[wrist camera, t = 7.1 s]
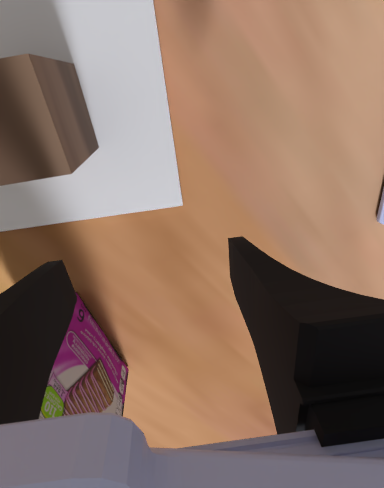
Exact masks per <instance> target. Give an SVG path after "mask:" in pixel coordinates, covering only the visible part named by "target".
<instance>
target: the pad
mask: <svg viewBox="0 0 384 488" xmlns="http://www.w3.org/2000/svg"><path fill="white" fill-rule="evenodd" d="M22 54H32V55H37V56H42V57H46V58H51V59H55V60H60V61H64V62H69V63H73V64H74V65H75V69H76V72H77V75H78V79H79V82H80V85H81V89H82V92H83V95H84V99H85V102H86V105H87V109H88V112H89V115H90V119H91V122H92V125H93V129H94V132H95V135H96V139H97V142H98V145H99V148H98V149H97V150H96V151H95V152H94V153H93V154H92V155H91V156H90V157H89V158H88V159H87V160H86V161H85V162H84V163H83V164H82V165H81V166H79V167H78V168H77V169H76V170H75V171H74V172H73V173H72V174H68V175H62V176H57V177H51V178H45V179H39V180H33V181H27V182H21V183H15V184H9V185H3V186H0V232H2V231H9V230H15V229H22V228H29V227H36V226H43V225H50V224H57V223H64V222H71V221H78V220H85V219H92V218H99V217H106V216H113V215H120V214H127V213H134V212H141V211H148V210H155V209H162V208H169V207H175V206H182V205H183V203H182V196H181V189H180V182H179V175H178V169H177V162H176V155H175V148H174V141H173V134H172V127H171V121H170V114H169V107H168V100H167V93H166V86H165V79H164V73H163V66H162V59H161V52H160V45H159V38H158V31H157V25H156V18H155V11H154V4H153V0H0V58H5V57H11V56H16V55H22Z"/></svg>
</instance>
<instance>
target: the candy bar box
mask: <svg viewBox="0 0 384 488" xmlns="http://www.w3.org/2000/svg"><path fill="white" fill-rule="evenodd" d="M75 293H76V292H75ZM76 296H77V299H76V304H75V309H74V313H73V317H72V320H71V322H70V325H69V328H68V330H67V333H66V335H65V338H64V340H63V343H62V345H61V348H60V350H59V353H58V355H57V358H56V360H55V363H54V365H53V368H52V371H51V374H50V377H49V381H48V385H47V388H46V392H45V395H44V399H43V403H42V407H41V411H40V416H39V419H45V418H52V417H59V416H67V415H74V414H81V413H88V412H96V413H114V414H117V415H120V416H123V409H124V401H125V393H126V385H127V377H128V368H127V366H126V365H125V363H124V362H123V361H122V359H121V358H120V356H119V355H118V353H117V352H116V350H115V349H114V348H113V346H112V345H111V343H110V342H109V340H108V339H107V337H106V336H105V334H104V333H103V331H102V330H101V328H100V327H99V325H98V324H97V322H96V321H95V319H94V318H93V317H92V315H91V314H90V312H89V311H88V309H87V308H86V306H85V304H84V303H83V302H82V300H81V299H80V297H79V296H78V294H77V293H76Z"/></svg>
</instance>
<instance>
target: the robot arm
mask: <svg viewBox="0 0 384 488" xmlns="http://www.w3.org/2000/svg"><path fill="white" fill-rule="evenodd" d="M377 221H378V222H379V223H381V224H384V188H383V193H382V197H381V202H380V206H379V211H378V215H377ZM228 243H229V263H230V278H231V282H232V286H233V290H234V294H235V297H236V300H237V302H238V305H239V307H240V310H241V312H242V315H243V317H244V320H245V322H246V325H247V327H248V330H249V332H250V335H251V338H252V340H253V343H254V346H255V350H256V353H257V357H258V361H259V364H260V368H261V372H262V375H263V379H264V383H265V387H266V390H267V394H268V398H269V402H270V406H271V410H272V414H273V418H274V422H275V426H276V430H277V435H271V436H263V437H256V438H249V439H242V440H235V441H227V442H220V443H213V444H206V445H199V446H191V447H184V448H177V449H174V448H149V446H148V444H147V441H146V438H145V436H144V433H143V432H142V431H141V430H140V429H139V428H138V427H137V426H136V425H135V424H134V422H133V421H132V420H131V419H128V418H125V417H123V416H120V415H117V414H114V413H96V412H88V413H81V414H74V415H67V416H59V417H52V418H45V419H39V416H40V411H41V407H42V403H43V399H44V395H45V392H46V388H47V385H48V381H49V377H50V374H51V371H52V368H53V365H54V363H55V360H56V358H57V355H58V353H59V350H60V348H61V345H62V343H63V340H64V338H65V335H66V333H67V330H68V328H69V325H70V322H71V320H72V317H73V313H74V309H75V304H76V299H77V296H76V293H75V291H74V288H73V286H72V283H71V281H70V278H69V276H68V273H67V271H66V268H65V266H64V263H63V261H62V260H59V261H51V262H47V263H45V264H43V265H42V266H40V267H39V268H37V269H36V270H34V271H33V272H31V273H30V274H28V275H27V276H26V277H24V278H23V279H21V280H20V281H19V282H17V283H16V284H14V285H13V286H11V287H10V288H9V289H7V290H6V291H4V292H3V293H1V294H0V488H384V300H383V299H378V298H373V297H369V296H364V295H360V294H356V293H352V292H349V291H345V290H342V289H339V288H335V287H332V286H329V285H327V284H324V283H321V282H319V281H316V280H313V279H311V278H309V277H306V276H304V275H302V274H300V273H298V272H296V271H294V270H292V269H290V268H288V267H286V266H285V265H283V264H281V263H279V262H278V261H276V260H274V259H273V258H271V257H270V256H268V255H267V254H265V253H264V252H263V251H261V250H260V249H258V248H257V247H256V246H254V245H253V244H252V243H250V242H249V241H248V240H246V239H245V238H244V237H234V238H228Z"/></svg>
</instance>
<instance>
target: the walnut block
mask: <svg viewBox="0 0 384 488" xmlns="http://www.w3.org/2000/svg"><path fill="white" fill-rule="evenodd" d="M98 148H99V145H98V142H97V139H96V135H95V132H94V129H93V125H92V122H91V119H90V115H89V112H88V109H87V105H86V102H85V99H84V95H83V92H82V89H81V85H80V82H79V79H78V75H77V72H76V69H75V65H74V64H73V63H69V62H64V61H60V60H55V59H51V58H46V57H42V56H37V55H32V54H22V55H16V56H11V57H5V58H0V186H3V185H9V184H15V183H21V182H27V181H33V180H39V179H45V178H51V177H57V176H62V175H68V174H72V173H73V172H74V171H75V170H76V169H77V168H78V167H79V166H81V165H82V164H83V163H84V162H85V161H86V160H87V159H88V158H89V157H90V156H91V155H92V154H93V153H94V152H95V151H96V150H97V149H98Z"/></svg>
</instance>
